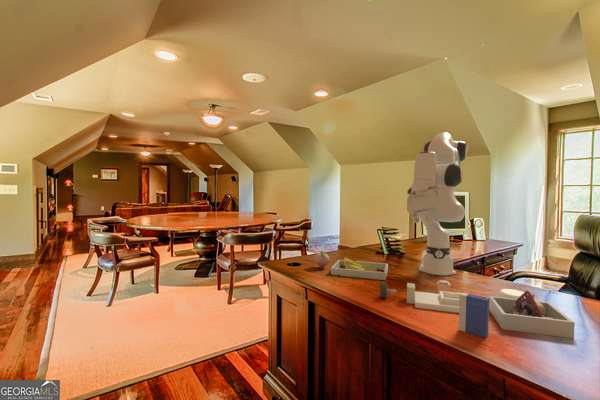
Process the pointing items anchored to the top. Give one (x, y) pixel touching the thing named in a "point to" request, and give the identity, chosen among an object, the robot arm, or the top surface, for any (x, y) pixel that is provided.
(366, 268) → the plastic component
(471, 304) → the walkman
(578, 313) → the top surface
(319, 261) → the decorative fruit
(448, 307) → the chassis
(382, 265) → the sorting frame
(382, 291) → the wheel
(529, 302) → the brake caliper
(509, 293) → the coaster
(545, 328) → the tray
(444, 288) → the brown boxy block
